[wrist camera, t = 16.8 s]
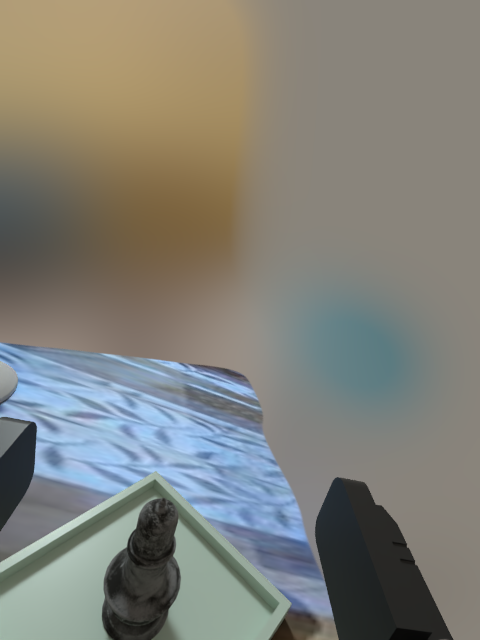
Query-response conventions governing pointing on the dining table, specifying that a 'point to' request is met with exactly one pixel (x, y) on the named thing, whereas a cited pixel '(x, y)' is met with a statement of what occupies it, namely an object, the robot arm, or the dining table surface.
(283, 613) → the tray
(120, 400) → the dining table surface
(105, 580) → the dark grey chess piece
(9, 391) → the candlestick
